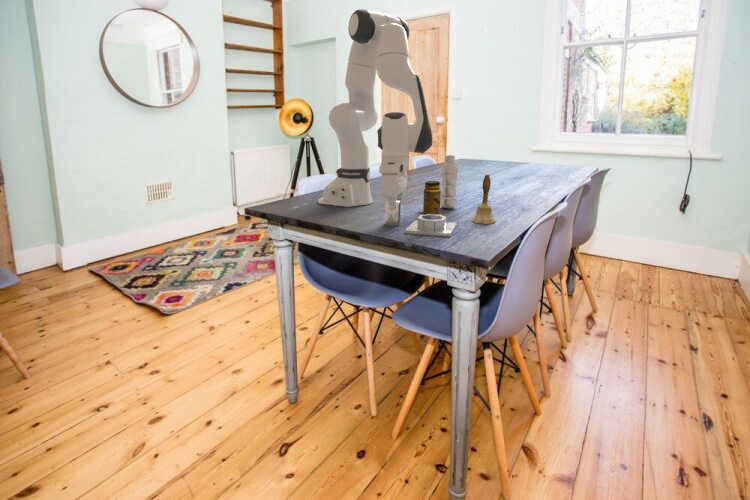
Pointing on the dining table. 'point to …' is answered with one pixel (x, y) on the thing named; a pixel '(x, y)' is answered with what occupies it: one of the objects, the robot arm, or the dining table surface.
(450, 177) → the plastic bottle
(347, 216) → the dining table surface
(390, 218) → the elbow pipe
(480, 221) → the hand bell
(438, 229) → the duct flange
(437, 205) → the condiment
